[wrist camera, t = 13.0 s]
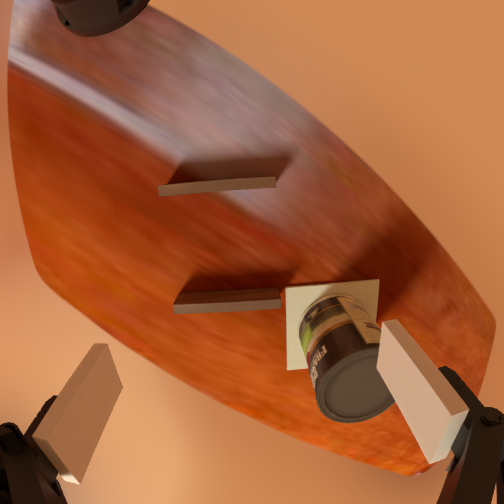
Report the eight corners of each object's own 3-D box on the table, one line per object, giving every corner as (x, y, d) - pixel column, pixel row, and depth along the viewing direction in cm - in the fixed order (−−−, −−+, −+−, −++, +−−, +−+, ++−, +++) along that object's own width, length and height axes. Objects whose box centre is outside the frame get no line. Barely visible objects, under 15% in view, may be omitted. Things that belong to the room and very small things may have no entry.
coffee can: (295, 360, 44) (311, 428, 30) (299, 294, 41) (322, 352, 28) (362, 355, 44) (397, 416, 30) (372, 291, 41) (419, 342, 28)
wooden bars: (166, 184, 38) (158, 185, 34) (272, 176, 38) (275, 176, 34) (180, 301, 42) (174, 313, 38) (278, 295, 42) (281, 308, 38)
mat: (285, 286, 41) (285, 288, 41) (378, 278, 41) (379, 280, 41) (286, 368, 45) (287, 370, 44) (370, 358, 45) (371, 359, 44)
